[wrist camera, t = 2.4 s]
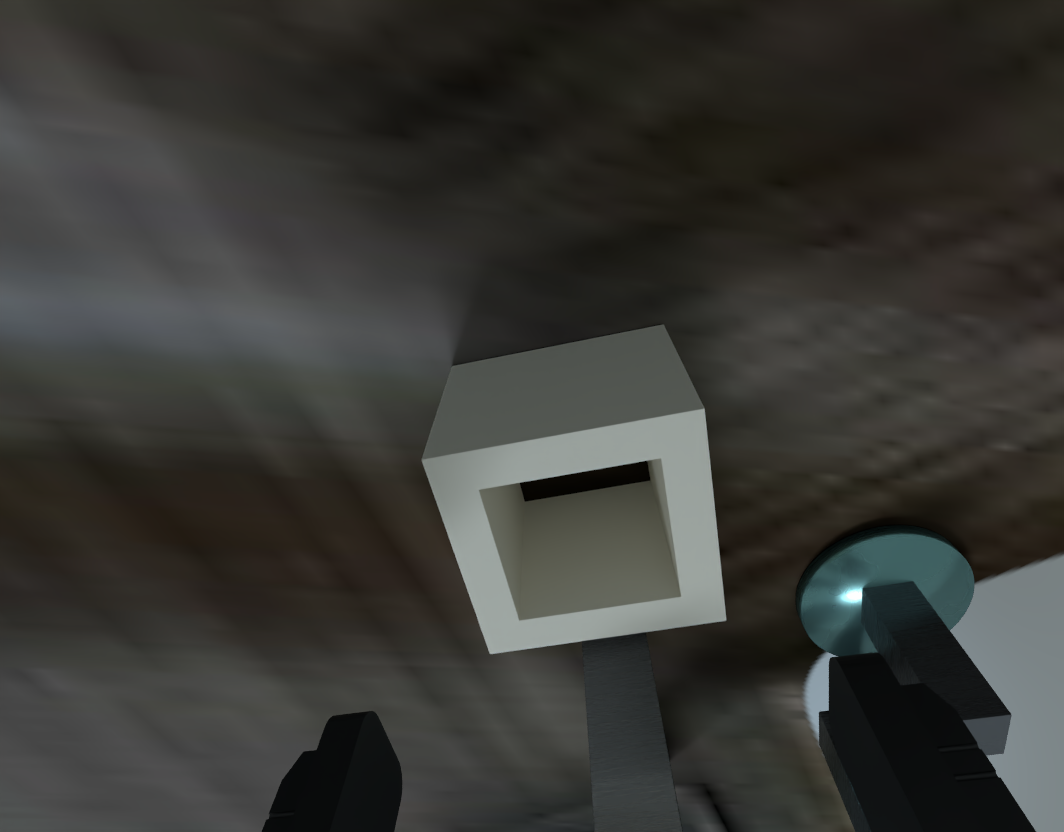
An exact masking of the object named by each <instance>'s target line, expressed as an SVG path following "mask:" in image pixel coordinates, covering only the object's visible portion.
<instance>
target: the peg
mask: <svg viewBox="0 0 1064 832" xmlns="http://www.w3.org/2000/svg"><path fill="white" fill-rule="evenodd" d="M973 593H974V576H973V572H972V570H971V567H970V565H969V564H968V562H967V560H966V559H965V558H964V557H963V556H962V555H961V554H960V552H959V551H958V550H957V549H956V548H955V547H954V546H953V545H952V543H951V542H950V541H948V540H947V539H946V538H944V537H943V536H941V535H939V534H937V533H936V532H933V531H930V530H928V529H925V528H920V527H916V526H907V525H891V526H881V527H876V528H871V529H868V530H864V531H861V532H858V533H855V534H853V535H850V536H848V537H846V538H844V539H842V540H840V541H838V542H836V543H835V544H833V545H832V546H830V547H829V548H827V549H826V550H825V551H824V552H822V553H821V554H820V555H819V556H818V557H817V558H816V559H815V560H814V561H813V562H812V563H811V564H810V565H809V567H808V568H807V569H806V571H805V572H804V574H803V576H802V577H801V579H800V582H799V584H798V587H797V592H796V601H795V602H796V609H797V612H798V616H799V618H800V620H801V622H802V624H803V626H804V628H805V630H806V632H807V634H808V636H809V637H810V638H811V639H812V641H813V642H814V643H815V644H817V645H818V646H819V647H820V648H822V649H823V650H825V651H827V652H829V653H831V654H833V655H836V656H847V655H855V654H863V653H872V652H878V653H880V654H881V655H882V656H883V657H884V659H885V660H886V662H887V663H888V665H889V667H890V668H891V670H892V672H893V673H894V675H895V677H896V678H897V680H898V682H899V684H900V685H909V684H917V683H924V684H925V685H927V686H928V687H929V688H930V689H932V690H933V691H934V692H935V693H936V694H938V695H939V696H940V697H941V698H942V699H944V700H945V701H946V702H947V703H948V704H950V705H951V706H952V707H953V708H954V709H956V711H957V712H958V714H959V715H960V717H961V718H962V720H963V721H964V723H965V724H966V726H967V728H968V729H969V731H970V732H971V734H972V735H973V737H974V738H975V740H976V741H977V744H978V747H979V749H982V750H983V752H984V753H985V755H994V754H1003V753H1004V749H1005V744H1006V739H1007V735H1008V729H1009V725H1010V719H1011V713H1010V712H1009V711H1008V709H1007V708H1006V707H1005V705H1004V704H1003V702H1002V701H1001V700H1000V698H999V697H998V696H997V694H996V693H995V692H994V690H993V689H992V687H991V686H990V685H989V683H988V682H987V681H986V679H985V678H984V677H983V675H982V674H981V673H980V671H979V670H978V668H977V667H976V666H975V665H974V663H973V662H972V660H971V659H970V658H969V657H968V655H967V654H966V652H965V651H964V649H963V648H962V647H961V646H960V644H959V643H958V641H957V640H956V639H955V637H954V636H953V634H952V633H951V632H950V630H951V629H952V628H953V627H954V626H955V625H956V624H957V623H958V622H959V620H960V619H961V618H962V616H963V615H964V614H965V612H966V610H967V609H968V607H969V605H970V602H971V600H972V597H973Z"/></svg>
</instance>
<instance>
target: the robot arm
mask: <svg viewBox="0 0 1064 832" xmlns="http://www.w3.org/2000/svg"><path fill="white" fill-rule="evenodd" d="M829 722H830V728H831V733H832V736H833V740H834V744H835V747H836V750H837V752H838V755H839V757H840V760H841V762H842V764H843V767H844V769H845V771H846V774H847V776H848V778H849V781H850V783H851V785H852V788H853V790H854V792H855V794H856V797H857V799H858V801H859V804H860V806H861V808H862V811H863V813H864V815H865V817H866V820H867V822H868V824H869V827H870V829H871V831H872V832H1036V831H1035V830H1034V828H1033V826H1032V825H1031V823H1030V822H1029V820H1028V819H1027V817H1026V816H1025V814H1024V813H1023V811H1022V810H1021V808H1020V807H1019V805H1018V804H1017V802H1016V801H1015V799H1014V798H1013V796H1012V794H1011V793H1010V791H1009V790H1008V788H1007V787H1006V785H1005V784H1004V782H1003V781H1002V779H1001V778H999V777H998V776H997V774H996V770H995V769H994V767H993V766H992V764H991V763H990V761H989V760H988V758H987V756H986V755H985V753H984V752H983V750H982V749H979V747H978V744H977V741H976V740H975V738H974V737H973V735H972V734H971V732H970V731H969V729H968V728H967V726H966V724H965V723H964V721H963V720H962V718H961V717H960V715H959V714H958V712H957V711H956V709H954V708H953V707H952V706H951V705H950V704H948V703H947V702H946V701H945V700H944V699H942V698H941V697H940V696H939V695H938V694H936V693H935V692H934V691H933V690H932V689H930V688H929V687H928V686H927V685H925V684H924V683H917V684H909V685H900V684H899V682H898V680H897V678H896V677H895V675H894V673H893V672H892V670H891V668H890V667H889V665H888V663H887V662H886V660H885V659H884V657H883V656H882V655H881V654H880V653H878V652H872V653H863V654H855V655H847V656H839V657H832V658H830V661H829ZM401 795H402V773H401V767H400V763H399V761H398V758H397V756H396V754H395V752H394V750H393V748H392V745H391V743H390V741H389V739H388V737H387V735H386V732H385V730H384V728H383V726H382V724H381V722H380V720H379V717H378V716H377V714H376V713H375V712H373V711H368V712H360V713H351V714H343V715H335V716H332V717H331V718H330V719H329V720H328V722H327V724H326V726H325V728H324V731H323V734H322V737H321V739H320V742H319V745H318V748H317V750H314V751H305V752H303V753H302V754H301V756H300V757H299V758H298V760H297V761H296V762H295V764H294V765H293V766H292V768H291V769H290V770H289V772H288V773H287V775H286V776H285V777H284V779H283V780H282V782H281V784H280V787H279V789H278V792H277V794H276V797H275V799H274V802H273V804H272V807H271V810H270V812H269V814H270V816H269V819H267V820H266V822H265V825H264V827H263V830H262V832H394V830H395V825H396V820H397V816H398V811H399V806H400V802H401Z"/></svg>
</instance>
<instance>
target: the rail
mask: <svg viewBox="0 0 1064 832" xmlns="http://www.w3.org/2000/svg"><path fill="white" fill-rule="evenodd" d="M582 650H583V665H584V680H585V694H586V709H587V724H588V739H589V754H590V769H591V784H592V799H593V814H594V829H595V832H683V830H682V825H681V820H680V814H679V809H678V803H677V798H676V792H675V787H674V782H673V776H672V771H671V765H670V760H669V754H668V749H667V744H666V738H665V733H664V729H663V724H662V718H661V713H660V707H659V702H658V696H657V691H656V686H655V680H654V675H653V669H652V664H651V658H650V653H649V647H648V642H647V636H646V632H643V633H636V634H629V635H622V636H615V637H608V638H601V639H593V640H586V641H582ZM819 745H820V747H821V749H822V752H823V754H824V757H825V759H826V762H827V764H828V766H829V769H830V771H831V774H832V776H833V778H834V781H835V783H836V786H837V788H838V791H839V793H840V795H841V798H842V800H843V803H844V805H845V807H846V810H847V812H848V815H849V817H850V819H851V822H852V824H853V827H854V829H855V832H872V831H871V829H870V827H869V824H868V822H867V820H866V817H865V815H864V813H863V811H862V808H861V806H860V804H859V801H858V799H857V797H856V794H855V792H854V790H853V788H852V785H851V783H850V781H849V778H848V776H847V774H846V771H845V769H844V767H843V764H842V762H841V760H840V757H839V755H838V752H837V750H836V747H835V744H834V740H833V736H832V733H831V728H830V722H829V711H822V712H819Z"/></svg>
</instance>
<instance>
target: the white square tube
mask: <svg viewBox="0 0 1064 832" xmlns="http://www.w3.org/2000/svg"><path fill="white" fill-rule="evenodd" d="M642 461H647V462H648V468H649V474H650V481H645V482H639V483H633V484H627V485H621V486H615V487H609V488H603V489H597V490H591V491H586V492H580V493H574V494H568V495H562V496H556V497H550V498H544V499H538V500H532V501H527V502H525V501H524V497H523V493H522V490H521V486H520V483H521V482H527V481H533V480H538V479H544V478H550V477H556V476H562V475H567V474H573V473H579V472H585V471H590V470H596V469H602V468H608V467H614V466H619V465H625V464H631V463H637V462H642ZM422 462H423V465H424V468H425V471H426V474H427V477H428V480H429V482H430V485H431V488H432V491H433V494H434V497H435V499H436V502H437V505H438V508H439V511H440V514H441V516H442V519H443V522H444V525H445V528H446V531H447V533H448V536H449V539H450V542H451V545H452V548H453V550H454V553H455V556H456V559H457V562H458V565H459V567H460V570H461V573H462V576H463V579H464V582H465V584H466V587H467V590H468V593H469V596H470V599H471V602H472V604H473V607H474V610H475V613H476V616H477V619H478V621H479V624H480V627H481V630H482V633H483V636H484V638H485V641H486V644H487V647H488V650H489V653H490V654H495V653H502V652H509V651H516V650H523V649H530V648H537V647H544V646H551V645H558V644H565V643H572V642H579V641H586V640H593V639H601V638H608V637H615V636H622V635H629V634H636V633H643V632H650V631H657V630H664V629H671V628H678V627H685V626H692V625H699V624H706V623H713V622H720V621H726V612H725V602H724V592H723V583H722V573H721V563H720V553H719V544H718V534H717V524H716V514H715V505H714V495H713V485H712V476H711V466H710V456H709V446H708V437H707V427H706V417H705V408H704V406H703V404H702V402H701V400H700V398H699V396H698V394H697V392H696V390H695V388H694V386H693V384H692V382H691V380H690V378H689V376H688V373H687V371H686V369H685V367H684V365H683V363H682V361H681V359H680V357H679V355H678V353H677V351H676V349H675V347H674V345H673V343H672V341H671V339H670V337H669V334H668V332H667V330H666V328H665V326H664V324H663V325H658V326H653V327H647V328H642V329H637V330H632V331H627V332H622V333H617V334H612V335H607V336H602V337H597V338H592V339H587V340H582V341H577V342H571V343H566V344H561V345H556V346H551V347H546V348H541V349H536V350H531V351H526V352H521V353H516V354H511V355H506V356H501V357H496V358H490V359H485V360H480V361H475V362H470V363H465V364H460V365H455V366H452V367H451V370H450V373H449V376H448V379H447V382H446V386H445V389H444V392H443V395H442V398H441V401H440V404H439V407H438V410H437V413H436V417H435V420H434V423H433V426H432V429H431V432H430V435H429V438H428V441H427V444H426V447H425V451H424V454H423V457H422Z"/></svg>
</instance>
